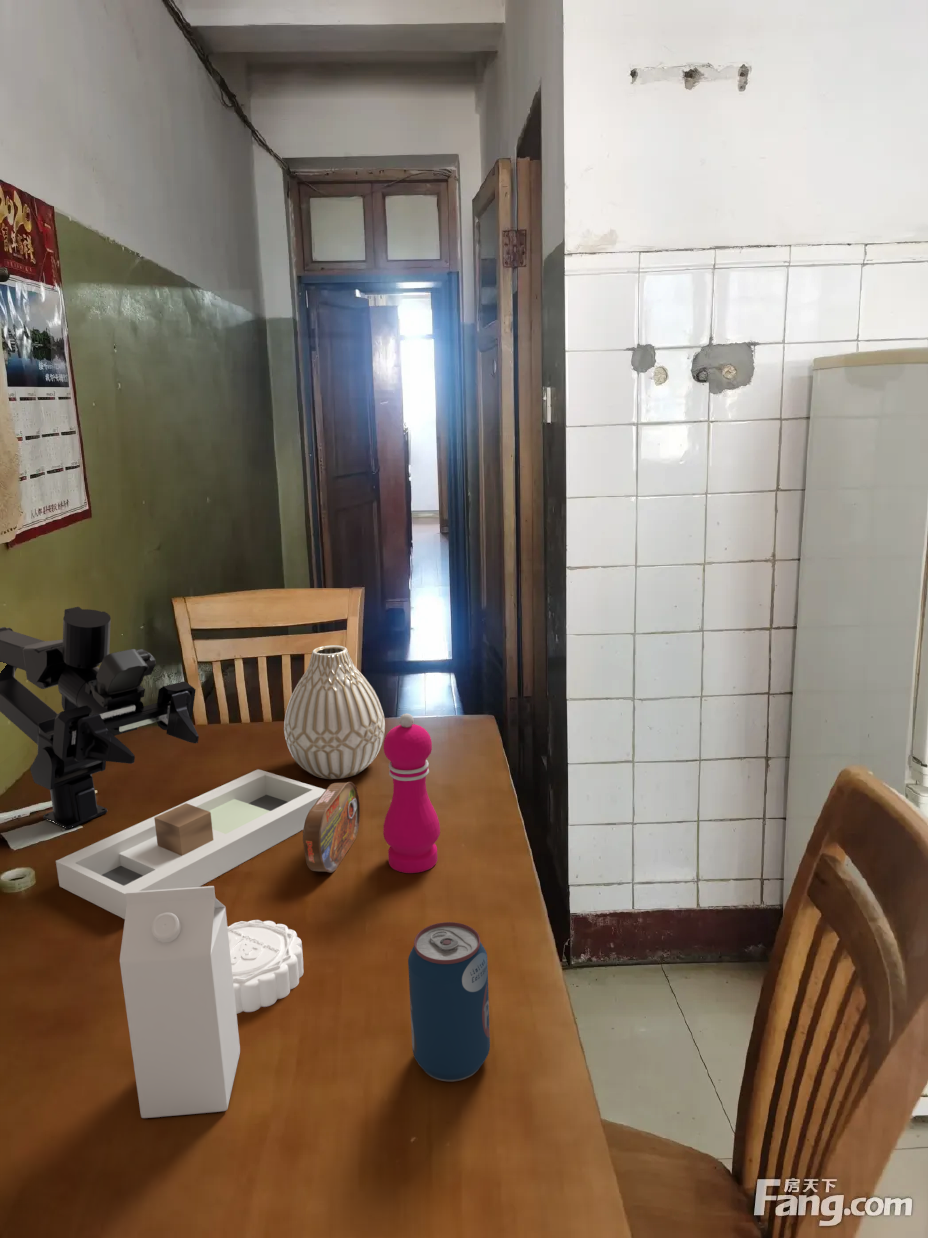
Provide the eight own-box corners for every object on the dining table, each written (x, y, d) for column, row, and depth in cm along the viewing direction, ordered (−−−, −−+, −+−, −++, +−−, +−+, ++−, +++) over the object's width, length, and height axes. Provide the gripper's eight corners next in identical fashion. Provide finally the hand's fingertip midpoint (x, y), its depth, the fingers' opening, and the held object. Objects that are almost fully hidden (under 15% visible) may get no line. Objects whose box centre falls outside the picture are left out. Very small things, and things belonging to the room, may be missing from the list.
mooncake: (160, 990, 92) (156, 959, 91) (249, 932, 101) (246, 903, 101) (241, 1033, 85) (238, 1000, 84) (328, 966, 95) (325, 936, 94)
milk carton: (161, 1060, 82) (137, 870, 77) (240, 1053, 82) (221, 865, 78) (140, 1120, 75) (112, 917, 70) (227, 1113, 75) (205, 910, 71)
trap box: (59, 886, 112) (55, 861, 111) (260, 790, 138) (258, 769, 137) (132, 923, 103) (129, 896, 102) (331, 813, 129) (330, 791, 128)
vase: (308, 798, 135) (298, 670, 130) (274, 763, 148) (264, 646, 143) (403, 774, 142) (398, 652, 137) (363, 743, 156) (356, 631, 151)
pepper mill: (450, 853, 117) (445, 708, 112) (425, 880, 111) (418, 727, 106) (402, 843, 120) (394, 701, 115) (374, 869, 114) (365, 720, 109)
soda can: (505, 1065, 80) (502, 946, 77) (438, 1099, 76) (433, 975, 73) (463, 1022, 85) (459, 909, 82) (399, 1052, 82) (392, 935, 79)
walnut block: (157, 845, 117) (154, 817, 116) (189, 830, 121) (185, 803, 120) (182, 856, 114) (178, 827, 113) (213, 840, 118) (210, 812, 117)
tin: (325, 885, 110) (321, 822, 108) (301, 883, 111) (296, 820, 109) (363, 828, 125) (360, 772, 123) (341, 827, 125) (338, 771, 123)
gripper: (31, 653, 110) (103, 711, 102) (164, 628, 124) (235, 677, 116) (26, 732, 114) (94, 793, 106) (155, 698, 128) (224, 750, 120)
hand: (166, 749), depth 112 cm, fingers open, 9 cm apart
